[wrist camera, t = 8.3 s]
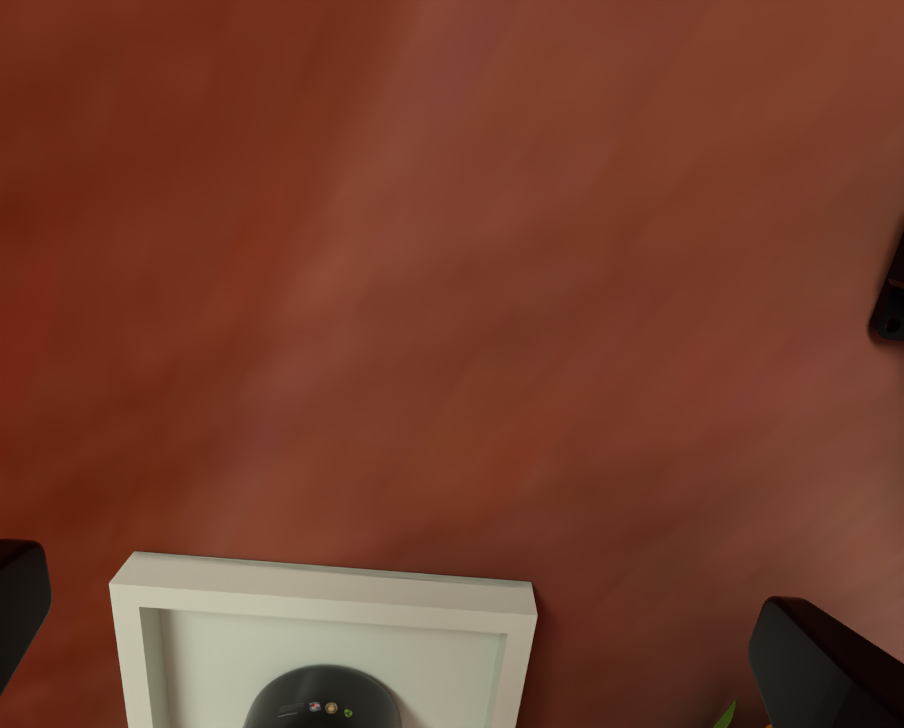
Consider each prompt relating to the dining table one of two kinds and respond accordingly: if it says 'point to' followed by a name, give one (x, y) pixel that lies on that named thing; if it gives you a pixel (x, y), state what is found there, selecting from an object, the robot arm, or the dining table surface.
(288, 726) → the supplement bottle
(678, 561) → the dining table surface
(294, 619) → the tray
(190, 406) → the dining table surface
